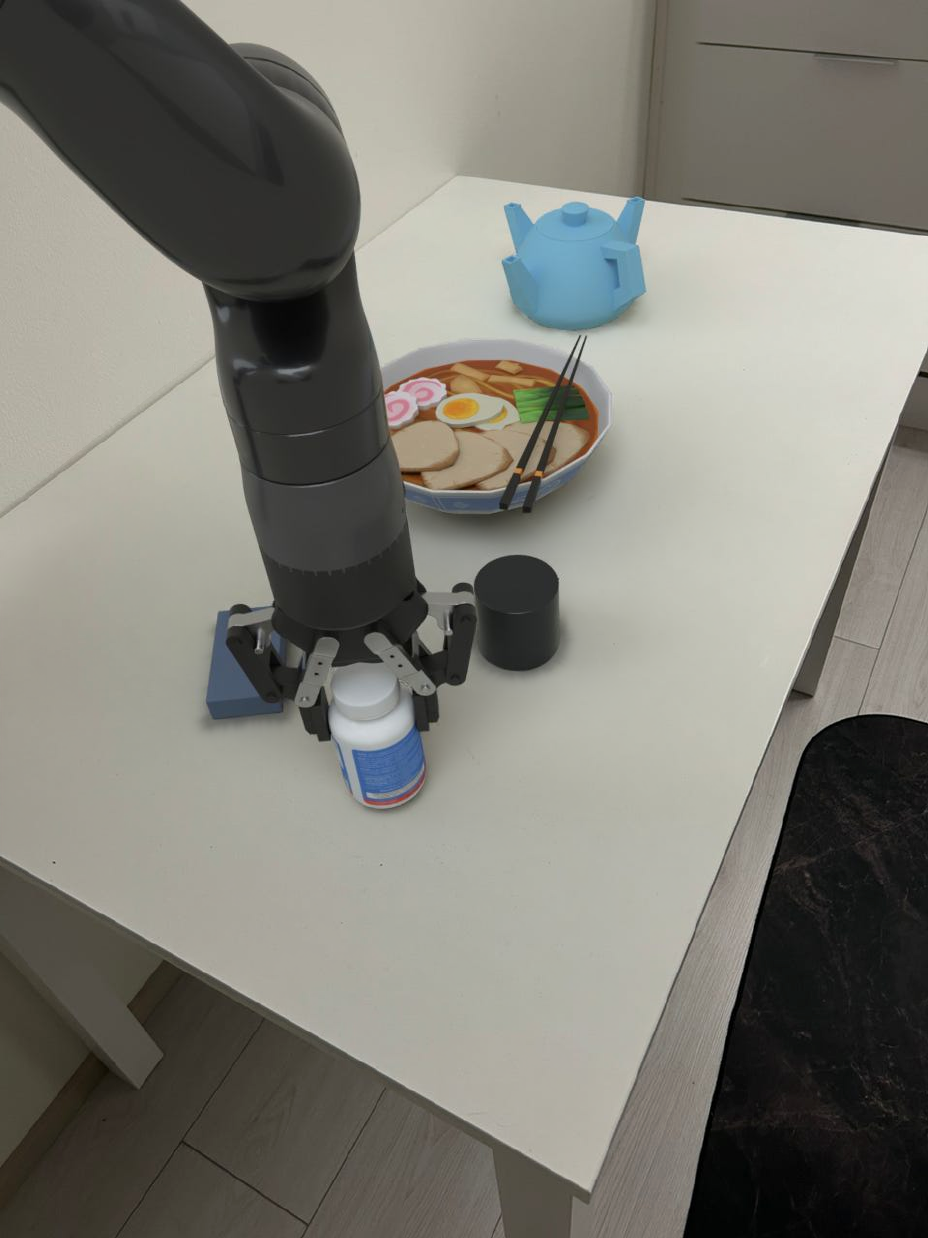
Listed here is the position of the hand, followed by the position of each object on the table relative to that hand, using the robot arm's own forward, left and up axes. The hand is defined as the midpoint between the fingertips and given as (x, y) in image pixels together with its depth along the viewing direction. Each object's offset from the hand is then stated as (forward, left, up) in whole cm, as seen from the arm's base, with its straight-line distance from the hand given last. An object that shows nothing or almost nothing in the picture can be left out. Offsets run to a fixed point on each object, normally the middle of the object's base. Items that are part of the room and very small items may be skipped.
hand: (374, 724), depth 60 cm
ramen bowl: (-3, +33, -7) cm, 34 cm away
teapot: (-2, +65, -6) cm, 65 cm away
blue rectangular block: (-13, +7, -6) cm, 16 cm away
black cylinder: (+5, +15, -6) cm, 17 cm away
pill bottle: (0, 0, -6) cm, 6 cm away
